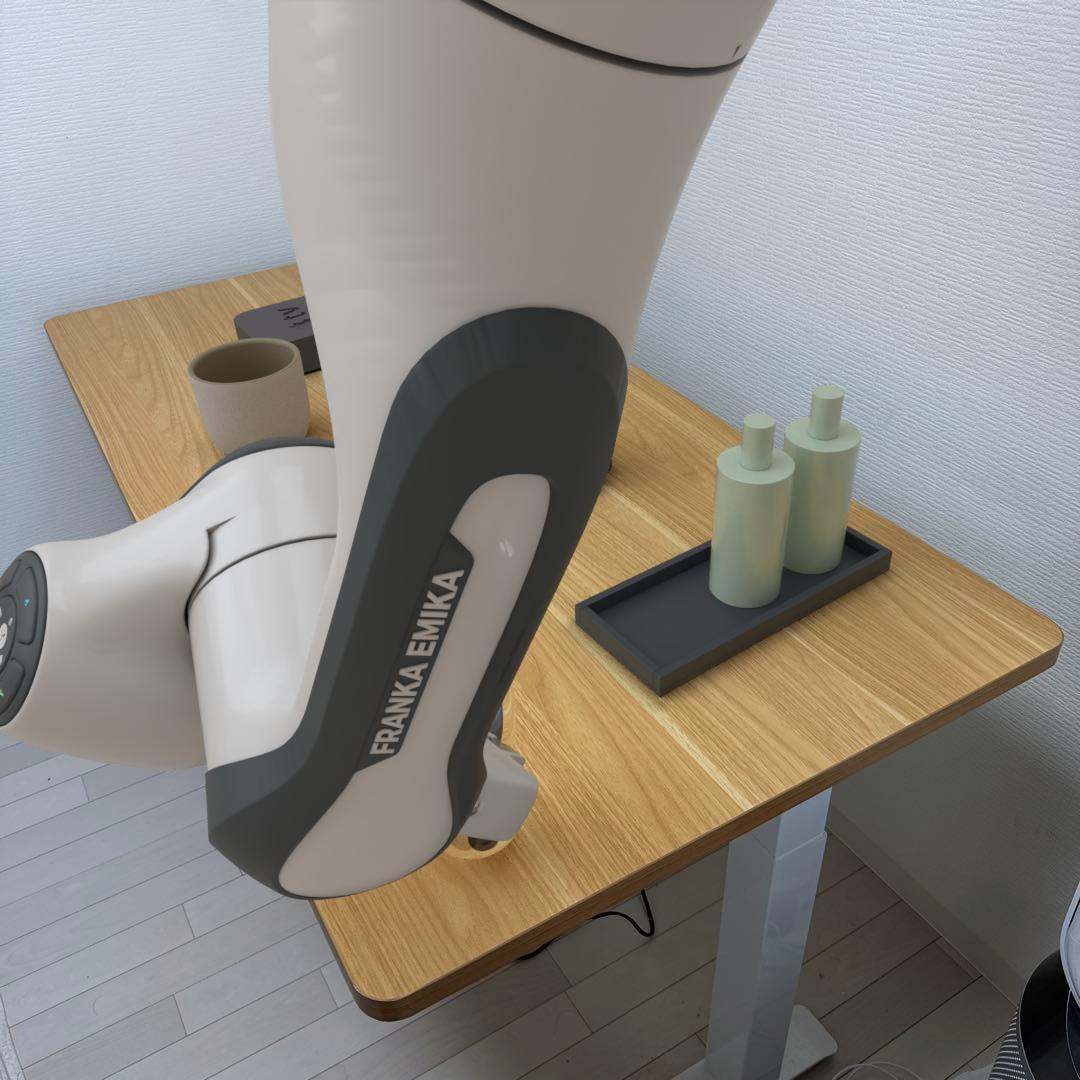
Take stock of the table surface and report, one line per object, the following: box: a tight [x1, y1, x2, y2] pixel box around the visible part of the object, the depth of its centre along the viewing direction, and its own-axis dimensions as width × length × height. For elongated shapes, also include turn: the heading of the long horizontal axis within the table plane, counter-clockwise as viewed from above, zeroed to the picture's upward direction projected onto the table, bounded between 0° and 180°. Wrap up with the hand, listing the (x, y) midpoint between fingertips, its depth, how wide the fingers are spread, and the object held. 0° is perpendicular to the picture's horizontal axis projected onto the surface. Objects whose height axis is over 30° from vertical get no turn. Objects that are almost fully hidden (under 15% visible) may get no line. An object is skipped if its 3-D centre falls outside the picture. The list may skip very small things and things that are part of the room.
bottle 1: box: [709, 412, 795, 608], centre depth 82 cm, size 6×6×17 cm
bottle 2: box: [782, 384, 862, 574], centre depth 86 cm, size 6×6×17 cm
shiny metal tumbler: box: [443, 683, 517, 860], centre depth 61 cm, size 7×7×15 cm
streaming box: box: [233, 295, 321, 374], centre depth 135 cm, size 14×14×5 cm
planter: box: [187, 338, 311, 456], centre depth 112 cm, size 12×12×11 cm
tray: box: [574, 525, 893, 698], centre depth 87 cm, size 12×28×2 cm, turn 124°
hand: (469, 729), depth 61 cm, fingers closed on shiny metal tumbler, 7 cm apart
